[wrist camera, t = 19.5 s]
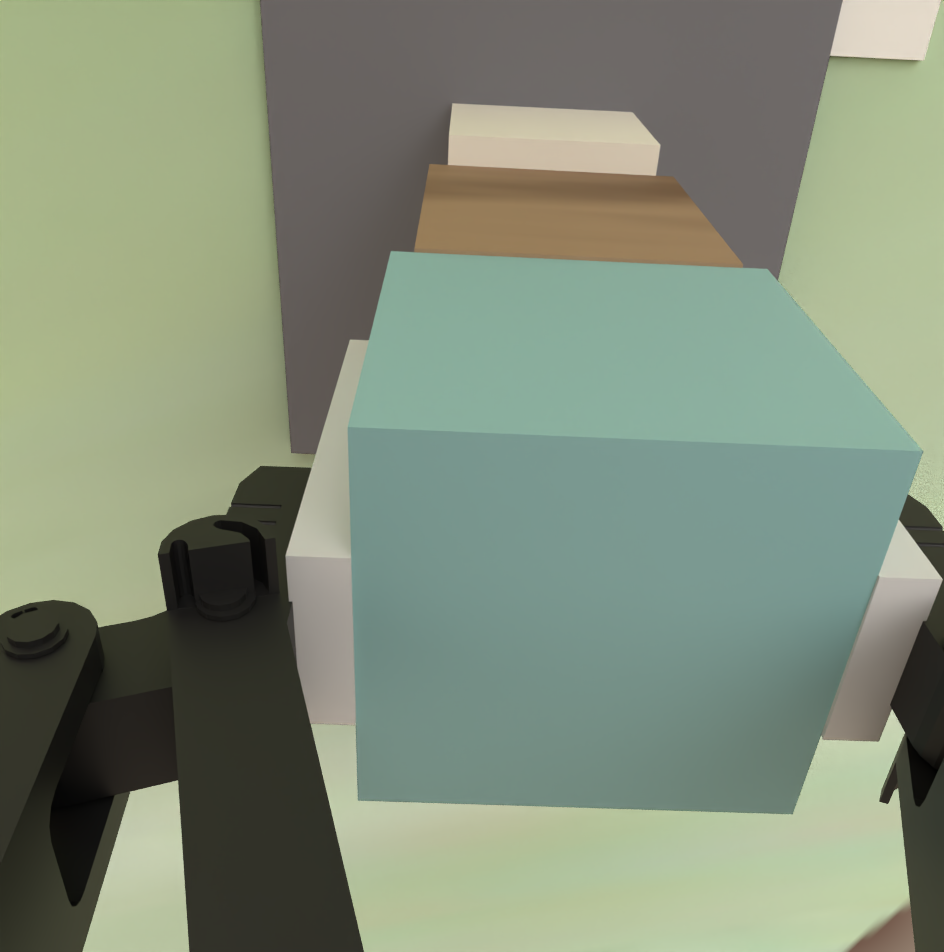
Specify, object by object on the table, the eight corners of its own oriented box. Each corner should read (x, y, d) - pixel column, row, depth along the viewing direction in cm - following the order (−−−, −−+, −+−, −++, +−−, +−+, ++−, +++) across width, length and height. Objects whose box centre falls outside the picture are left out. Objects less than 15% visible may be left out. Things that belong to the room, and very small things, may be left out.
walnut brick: (429, 164, 20) (414, 248, 15) (673, 176, 20) (743, 264, 15) (422, 421, 23) (409, 562, 18) (632, 430, 23) (677, 573, 18)
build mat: (259, -68, 21) (212, -66, 17) (843, -37, 22) (923, -29, 18) (294, 445, 29) (266, 525, 25) (729, 462, 29) (768, 544, 25)
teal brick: (390, 250, 15) (347, 427, 10) (767, 269, 15) (923, 450, 10) (390, 548, 18) (358, 800, 13) (701, 560, 18) (792, 813, 13)
